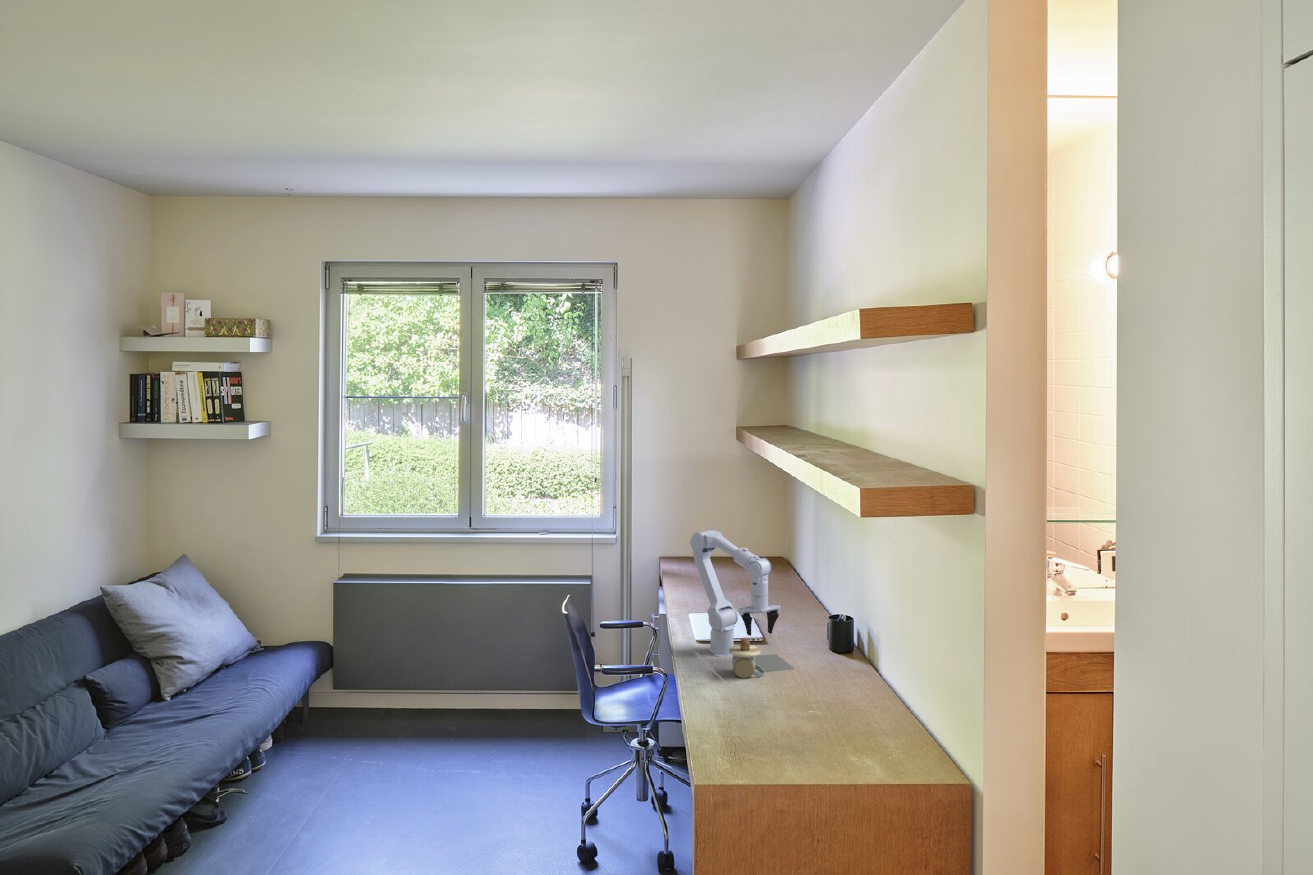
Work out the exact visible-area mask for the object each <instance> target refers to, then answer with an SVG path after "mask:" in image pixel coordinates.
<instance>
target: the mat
mask: <svg viewBox="0 0 1313 875" xmlns="http://www.w3.org/2000/svg"><path fill="white" fill-rule="evenodd" d="M755 664H756V665H758V666H760V667H761V668H762V669H763V670H764V671H765V673H770V672H779V671H790V670H795V669H796V668H794V666H792V665H791V664H789V663H788V662H787V661H785V659H783V658H782V657H780V656H779V655H778V654H776V653H769V654H760V655H758V656H755Z"/></svg>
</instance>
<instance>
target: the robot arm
mask: <svg viewBox="0 0 1313 875" xmlns="http://www.w3.org/2000/svg"><path fill="white" fill-rule="evenodd" d="M689 544H690V546H691V548H692V555H693V560H694V562H695V566H696V568H697V572H698V574H699V577H700V579H701V582H702V584H703V587H704V590H705V593H706V595H707V598H708V601H709V607H708V609H707V616H708V623H709V626H710V628H711V630H710V647H708V648H707V650H709V651H710V652H711V654H713V655H714V656H715V657H718V658H719V657H720V658H721V657H729V656H733V655H732V654H730V653H729V648H730V647H732V646H735V645H734V637H735V636H734V634H735V633H734V629H735V625H736V624H737V622H738V620H739V615H740V617H741V619H742V621H743V624H744V627H745V632H746V634H747V636H752V622H753V617H752V615H753V614H764V613H766V617H767V633H768V634H770V635H772V634H773V630H774V627H775V624H776V621H777V619H778V618H779V613H780V612H781V605H779V604H769V575H770V573H771V572H772V564H771V562H770V561H769V559H768V558H766V557H761V558H760V557H759V555H757V554H756V555H755V554H754V553H752V552H751V551H750V550H749V549H748V548H747V547H740V548H739V547H737V546H736V545H735V544H733V543H732V542H731V541H729V540H728V539H727V538H726V537H724V536H723V534H722V532H720V531H718V530H717V529H714V528H712V529H709V530H704V531H697V532H694V533H693V534H692V535H691V538H690V541H689ZM716 548H717V549H719V550H721V551H722V552H723V553H726V554H727V555H730V556H732V557H733V562H734V563H736V564H738V565H739V566H741V567H743V569H744V570H746V571H747V573H748V575H749V581H750V584H751V585H750V593H751V594H750V599H751V600H750V606H744V607H738V612H737V610H736V609H735V608H734V606H733V605H732V604H733V603H731V602H730V601H729V600H727V599H725V595H724V594H723V591H722V587H721V584H720V582H719V578H718V577H717V574H716V571H715V568H714V566H713V563H712V559H711V556H712V554H713V552H714V551H715V550H716Z"/></svg>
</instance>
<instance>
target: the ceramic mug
mask: <svg viewBox="0 0 1313 875" xmlns="http://www.w3.org/2000/svg"><path fill="white" fill-rule="evenodd" d="M731 663H732V664H731V665H732V670H733V673H734V674H735V675H736V676H737V677H738V678H740V679H748V678H751V677H752V676H756V677H758V678H762V677H764V676H765V673H766V672H765V671H764V670H763V669H762V668H761V667H760V666H758V665H756V664H755V657H737V656H734V655H732V657H731Z"/></svg>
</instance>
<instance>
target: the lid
mask: <svg viewBox="0 0 1313 875" xmlns="http://www.w3.org/2000/svg"><path fill="white" fill-rule="evenodd" d="M750 642H751V640H750V638H748V637H746V638H745V637H743V638H740V644H736V645H734V646H732V647H730V648H729V653H730V654H732V655H731V656H733V655H734V656H737V657H755V656H758V655H762V649H761V648H760V647H758V646H755V645H751V643H750Z"/></svg>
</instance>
